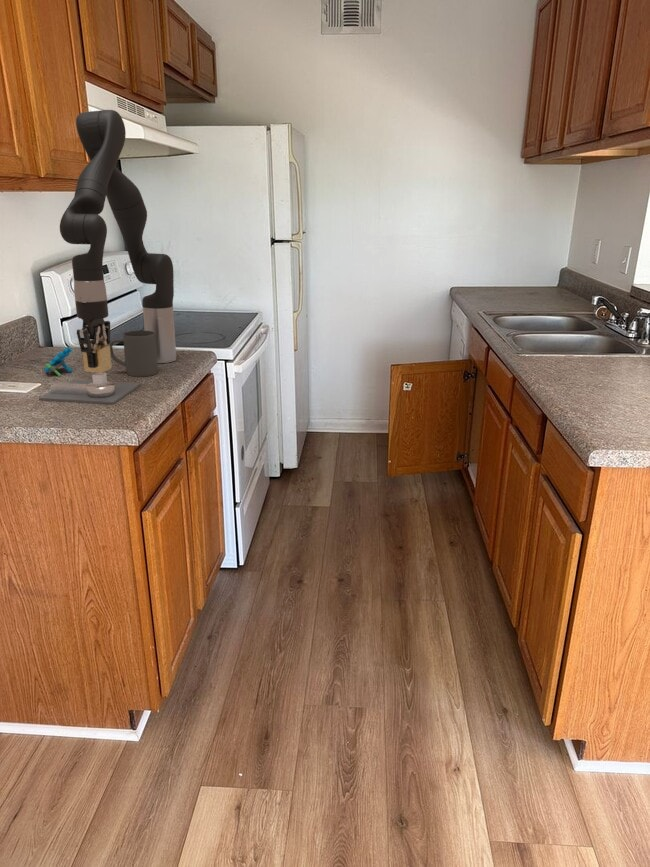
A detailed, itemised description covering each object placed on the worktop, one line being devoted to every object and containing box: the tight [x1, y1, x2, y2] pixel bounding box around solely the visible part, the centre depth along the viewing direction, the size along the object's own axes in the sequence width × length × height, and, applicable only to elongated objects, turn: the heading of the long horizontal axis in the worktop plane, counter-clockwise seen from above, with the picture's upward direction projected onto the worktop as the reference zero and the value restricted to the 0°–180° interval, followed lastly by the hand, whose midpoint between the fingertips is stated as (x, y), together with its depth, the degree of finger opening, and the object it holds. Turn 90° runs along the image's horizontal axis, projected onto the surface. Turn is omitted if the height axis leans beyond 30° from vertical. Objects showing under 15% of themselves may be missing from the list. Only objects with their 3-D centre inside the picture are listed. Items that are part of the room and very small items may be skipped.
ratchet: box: [49, 372, 115, 398], centre depth 168 cm, size 7×16×6 cm, turn 83°
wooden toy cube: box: [82, 344, 112, 373], centre depth 165 cm, size 5×5×6 cm
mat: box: [38, 379, 142, 405], centre depth 171 cm, size 18×20×1 cm
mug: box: [108, 329, 159, 378], centre depth 189 cm, size 14×9×12 cm
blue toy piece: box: [44, 346, 73, 377], centre depth 189 cm, size 11×6×10 cm
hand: (97, 364), depth 165 cm, fingers closed on wooden toy cube, 5 cm apart
